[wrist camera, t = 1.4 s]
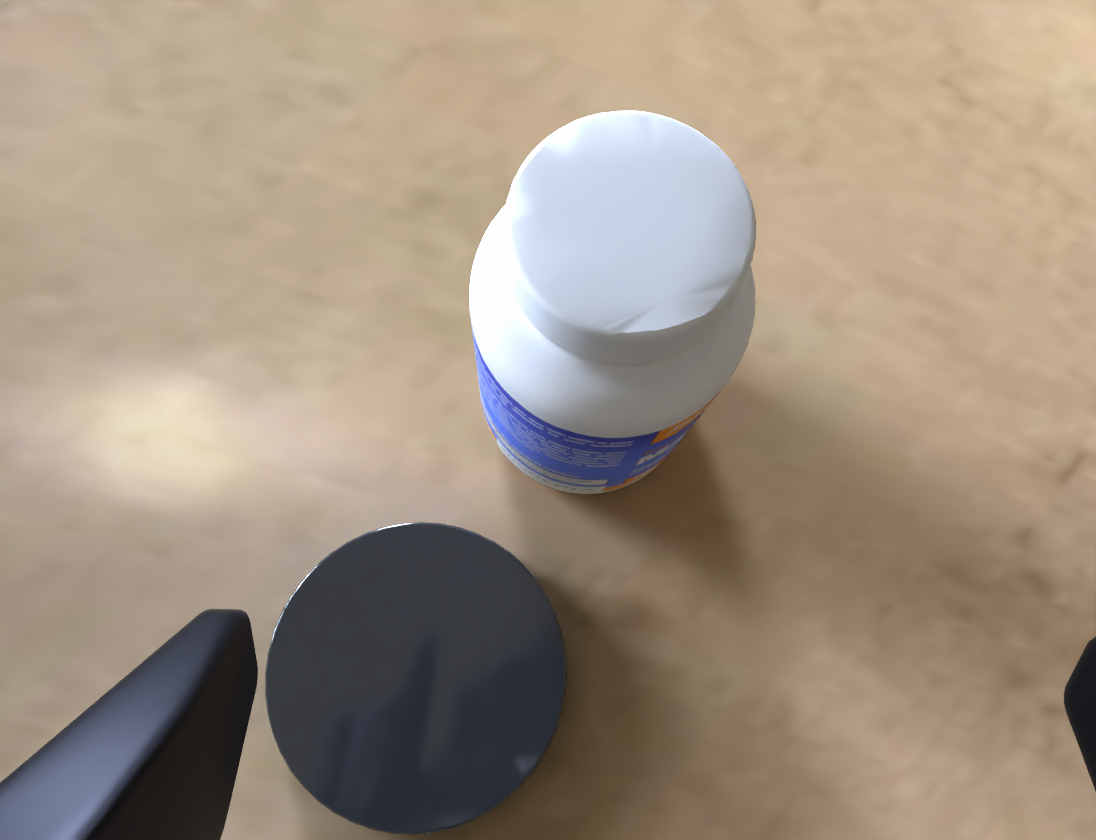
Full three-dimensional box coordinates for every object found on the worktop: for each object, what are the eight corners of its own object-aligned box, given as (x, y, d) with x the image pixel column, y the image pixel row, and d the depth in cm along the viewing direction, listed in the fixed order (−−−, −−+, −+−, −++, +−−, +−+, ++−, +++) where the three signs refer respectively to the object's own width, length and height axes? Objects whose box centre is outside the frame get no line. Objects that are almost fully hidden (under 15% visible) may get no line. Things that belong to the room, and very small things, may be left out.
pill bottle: (652, 525, 22) (758, 440, 13) (451, 458, 22) (409, 324, 13) (709, 334, 23) (844, 128, 14) (519, 272, 24) (526, 29, 14)
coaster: (618, 724, 21) (622, 728, 20) (357, 889, 20) (351, 899, 19) (476, 475, 22) (475, 470, 21) (223, 617, 21) (212, 616, 20)
